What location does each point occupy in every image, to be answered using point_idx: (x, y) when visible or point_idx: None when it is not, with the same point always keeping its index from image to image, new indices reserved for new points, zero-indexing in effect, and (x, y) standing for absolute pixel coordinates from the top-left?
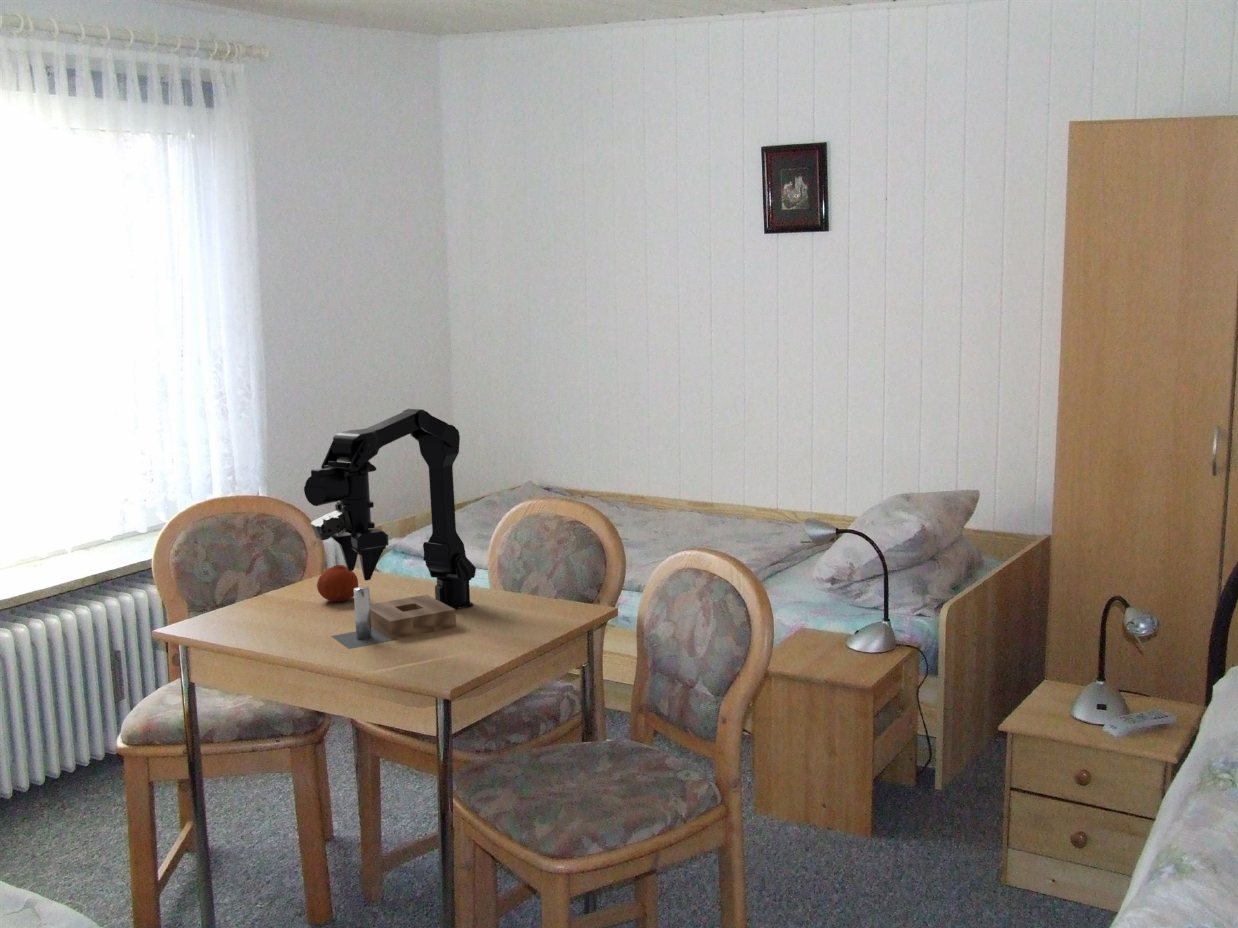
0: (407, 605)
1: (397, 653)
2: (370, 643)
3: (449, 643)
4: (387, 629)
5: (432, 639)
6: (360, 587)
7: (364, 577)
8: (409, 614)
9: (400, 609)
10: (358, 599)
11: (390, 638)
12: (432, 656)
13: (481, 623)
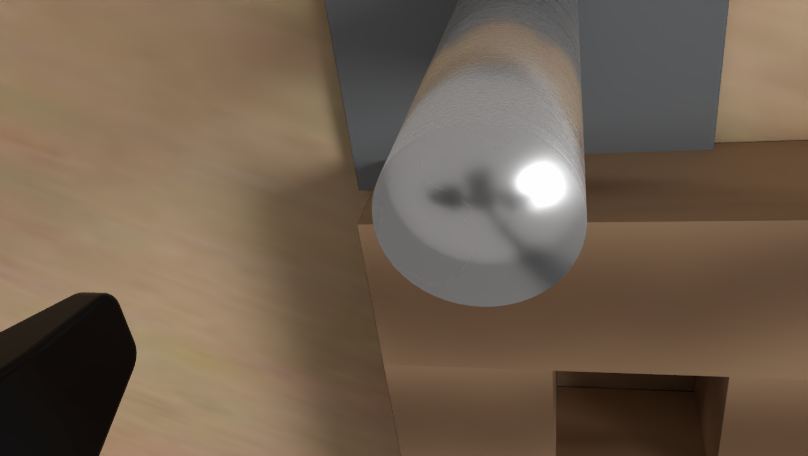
0: (716, 445)
1: (125, 101)
2: (351, 11)
3: (213, 361)
4: None
5: (312, 331)
6: (533, 227)
7: (39, 313)
8: (457, 372)
9: (719, 389)
10: (421, 101)
11: None
12: (29, 230)
13: None
